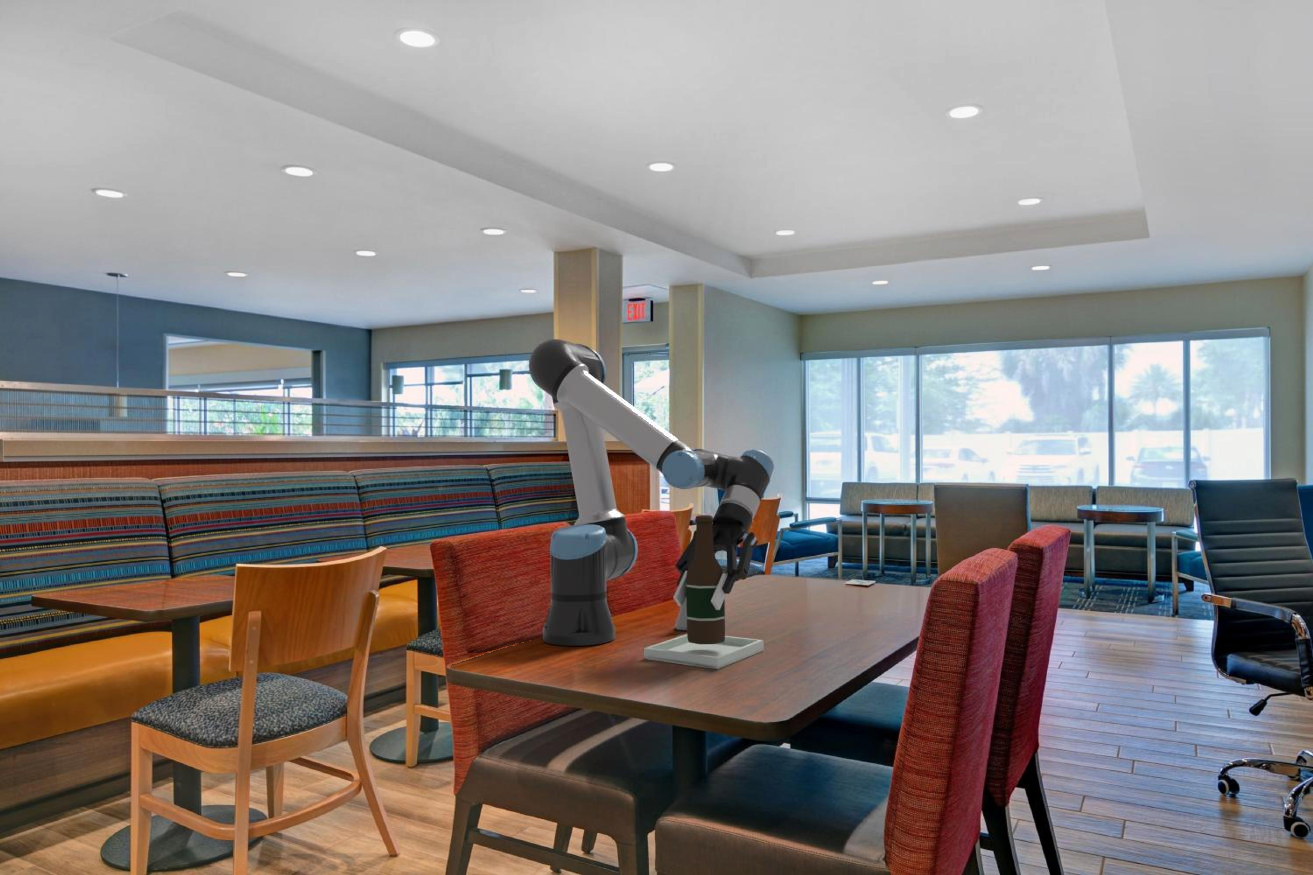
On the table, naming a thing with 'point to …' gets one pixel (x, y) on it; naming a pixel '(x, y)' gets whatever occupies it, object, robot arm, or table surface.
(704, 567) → the beer bottle
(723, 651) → the tray
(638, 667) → the table surface
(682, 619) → the flask
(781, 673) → the table surface
